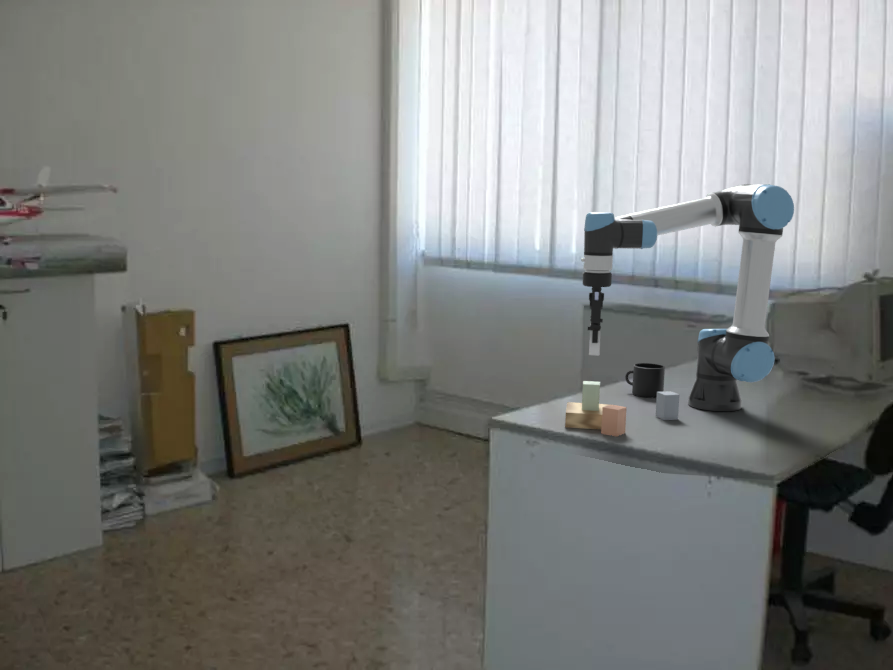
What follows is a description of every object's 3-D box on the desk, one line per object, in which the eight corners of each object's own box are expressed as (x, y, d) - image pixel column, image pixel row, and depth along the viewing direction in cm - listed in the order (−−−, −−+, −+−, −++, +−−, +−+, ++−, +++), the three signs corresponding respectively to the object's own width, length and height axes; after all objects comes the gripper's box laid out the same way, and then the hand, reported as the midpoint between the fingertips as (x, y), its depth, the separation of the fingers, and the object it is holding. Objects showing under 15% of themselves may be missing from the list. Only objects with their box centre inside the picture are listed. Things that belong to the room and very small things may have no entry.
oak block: (614, 419, 282) (614, 404, 281) (614, 430, 269) (615, 415, 268) (566, 416, 283) (567, 402, 283) (565, 427, 271) (565, 412, 270)
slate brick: (669, 415, 288) (671, 391, 287) (677, 419, 283) (679, 394, 282) (655, 416, 286) (656, 391, 285) (663, 420, 282) (664, 395, 281)
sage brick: (598, 407, 277) (600, 381, 276) (598, 410, 273) (600, 385, 272) (582, 406, 278) (583, 380, 277) (581, 409, 274) (582, 384, 273)
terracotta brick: (609, 430, 269) (611, 404, 268) (625, 433, 266) (626, 407, 265) (601, 433, 265) (602, 407, 264) (616, 436, 262) (618, 409, 261)
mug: (629, 389, 323) (630, 361, 321) (666, 393, 317) (668, 365, 316) (620, 394, 314) (621, 365, 313) (658, 399, 309) (660, 369, 308)
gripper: (583, 266, 283) (580, 342, 286) (582, 275, 258) (579, 358, 261) (611, 267, 282) (608, 343, 285) (612, 276, 257) (609, 359, 260)
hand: (594, 350), depth 273 cm, fingers open, 13 cm apart
